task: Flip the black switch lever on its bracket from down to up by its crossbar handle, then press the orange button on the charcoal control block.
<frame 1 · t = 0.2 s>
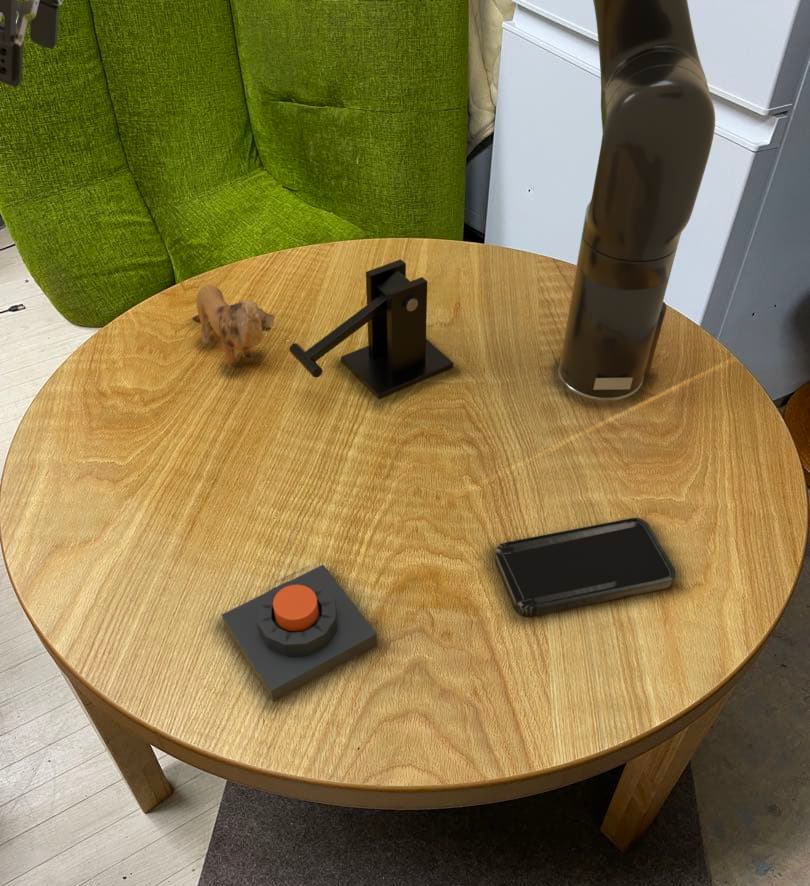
hand: (26, 62, 78), 31 cm above the table, tool tilted 20°, fingers open, 8 cm apart
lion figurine: (234, 352, 100), on the table
control block: (300, 635, 74), on the table
phone: (582, 570, 79), on the table
switch bracket: (396, 368, 98), on the table
start button: (296, 607, 71), point 4 cm above the table, slide at 0.1 cm
switch lever: (354, 323, 90), point 8 cm above the table, hinge at -20.0°
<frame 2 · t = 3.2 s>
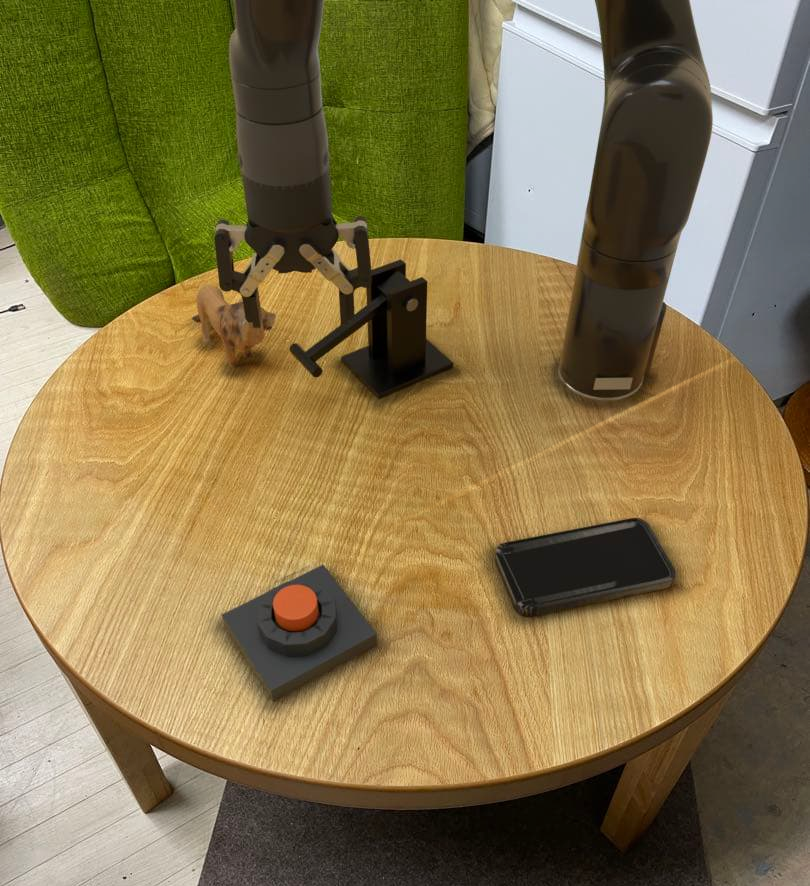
hand: (300, 322, 86), 11 cm above the table, tool pointing down, fingers open, 8 cm apart
nothing on the table moved.
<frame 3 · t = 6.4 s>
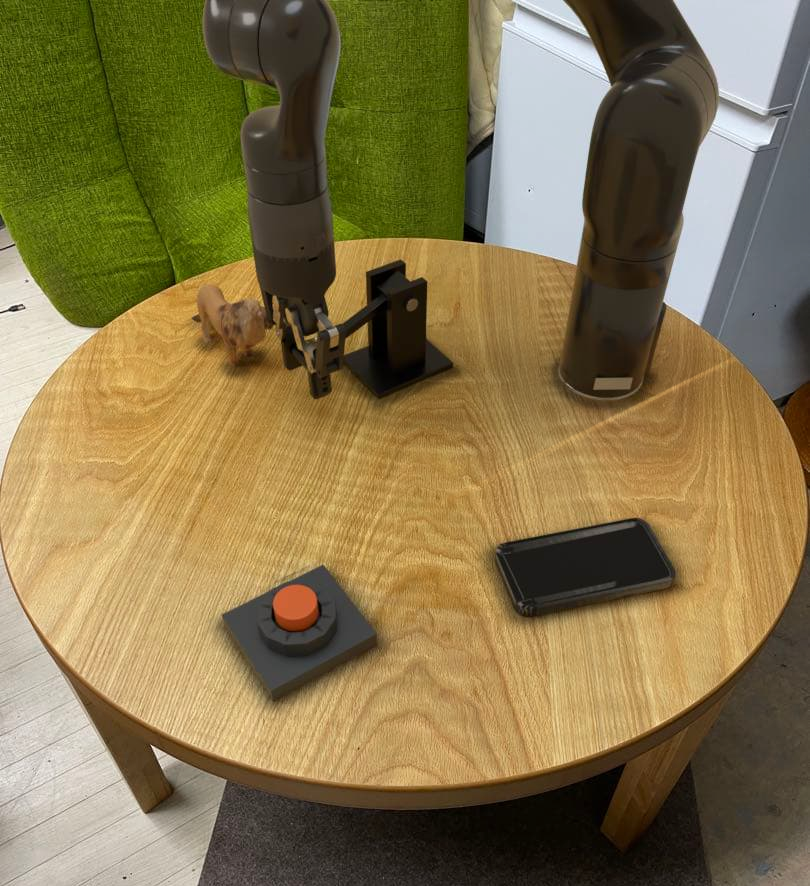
hand: (307, 380, 92), 3 cm above the table, tool pointing down, fingers closed on switch lever, 5 cm apart
switch lever: (354, 323, 90), point 8 cm above the table, hinge at -20.1°, touching gripper
everything else where it was.
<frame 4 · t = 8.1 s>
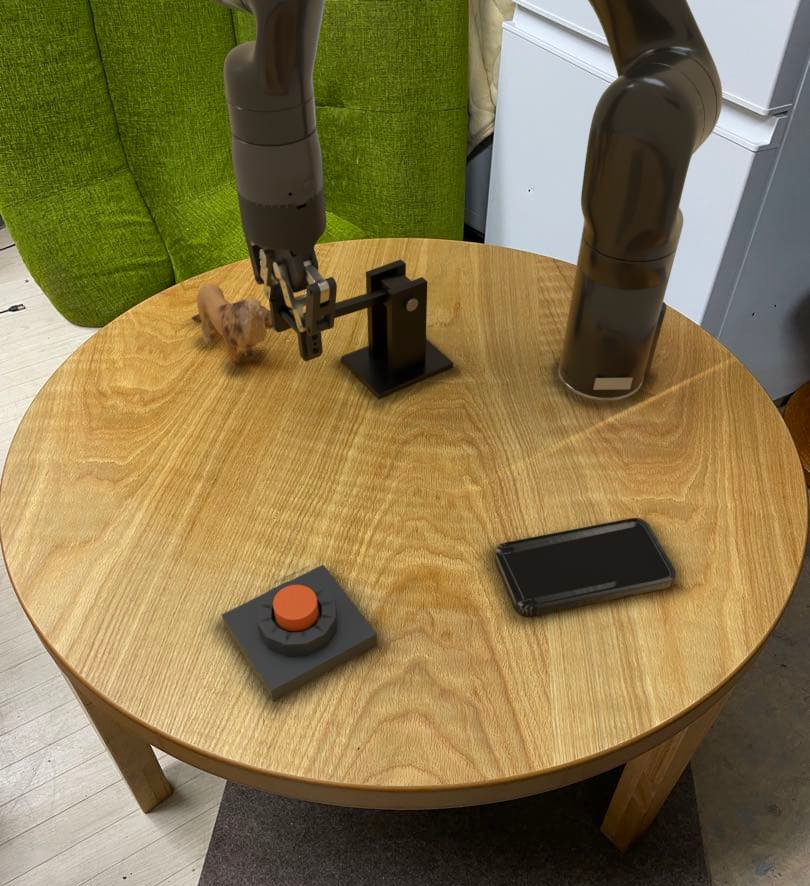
hand: (297, 342, 88), 8 cm above the table, tool pointing down, fingers closed on switch lever, 5 cm apart
switch lever: (350, 305, 88), point 10 cm above the table, hinge at 3.6°, touching gripper
everything else where it was.
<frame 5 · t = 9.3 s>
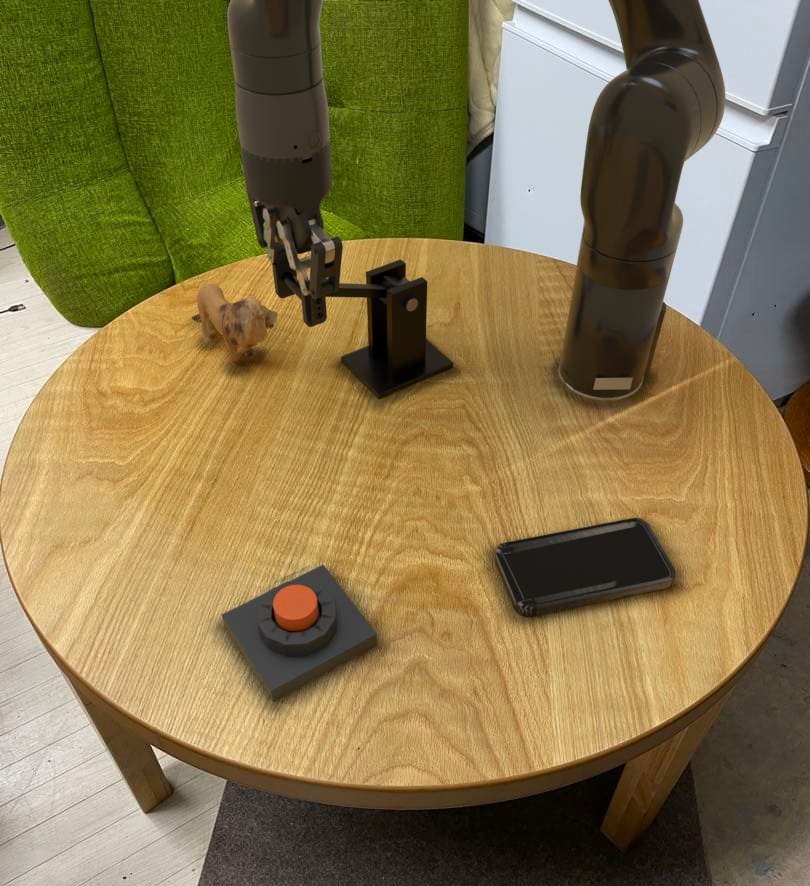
hand: (301, 308, 85), 12 cm above the table, tool pointing down, fingers closed on switch lever, 5 cm apart
switch lever: (353, 290, 87), point 12 cm above the table, hinge at 21.0°, touching gripper
everything else where it was.
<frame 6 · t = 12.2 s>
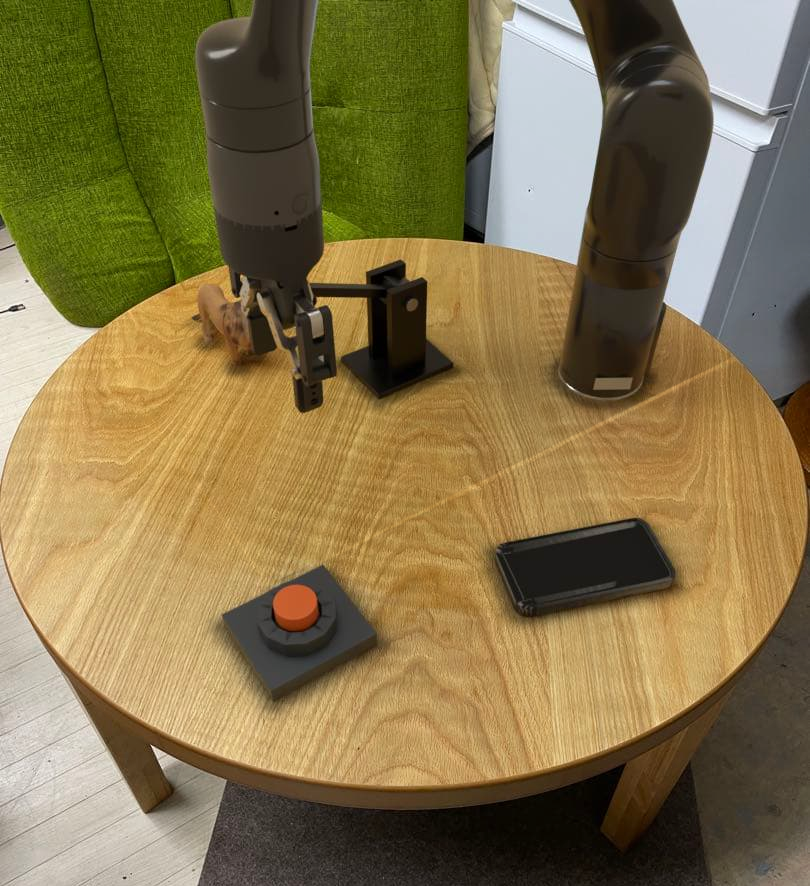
hand: (286, 378, 72), 16 cm above the table, tool pointing down, fingers open, 8 cm apart
switch lever: (352, 290, 87), point 12 cm above the table, hinge at 20.8°
everything else where it was.
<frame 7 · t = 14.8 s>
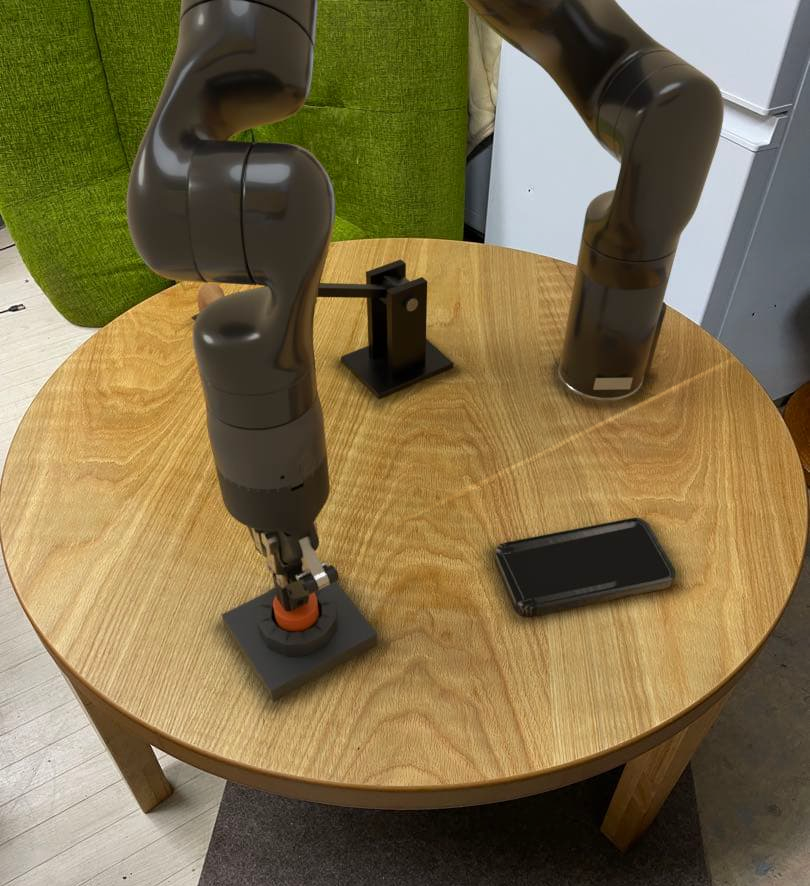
hand: (293, 601, 71), 5 cm above the table, tool pointing down, fingers closed
start button: (296, 608, 71), point 4 cm above the table, slide at 0.0 cm, touching gripper
everything else where it was.
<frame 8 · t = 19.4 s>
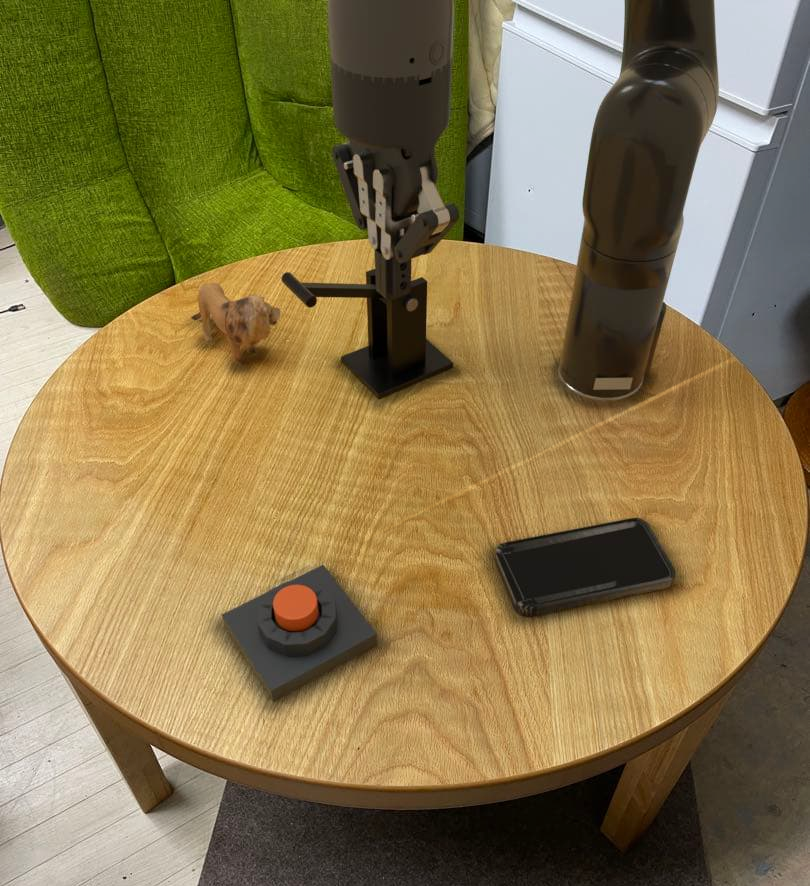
hand: (393, 293, 66), 24 cm above the table, tool pointing down, fingers closed
start button: (296, 607, 71), point 4 cm above the table, slide at 0.1 cm
everything else where it was.
at the end: switch lever at +21° (first picture: -20°); start button pushed in 1.1 cm at the most during the clip, back to where it started at the end; start button slide at 0.1 cm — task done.
